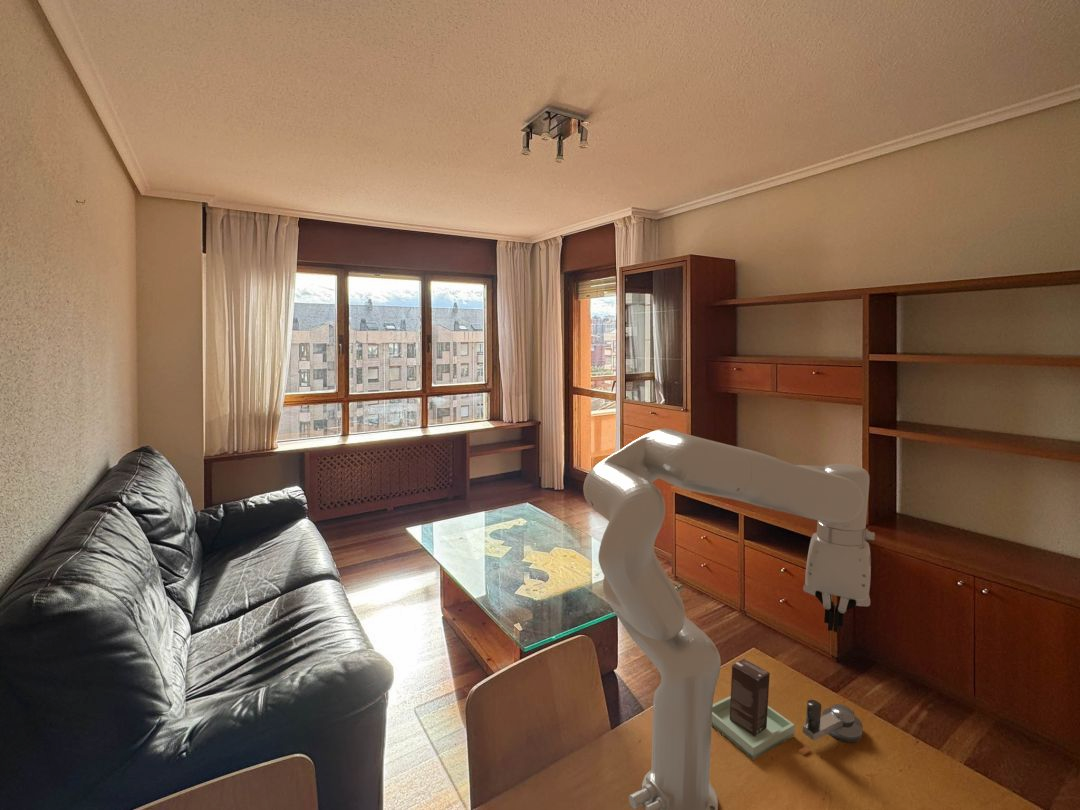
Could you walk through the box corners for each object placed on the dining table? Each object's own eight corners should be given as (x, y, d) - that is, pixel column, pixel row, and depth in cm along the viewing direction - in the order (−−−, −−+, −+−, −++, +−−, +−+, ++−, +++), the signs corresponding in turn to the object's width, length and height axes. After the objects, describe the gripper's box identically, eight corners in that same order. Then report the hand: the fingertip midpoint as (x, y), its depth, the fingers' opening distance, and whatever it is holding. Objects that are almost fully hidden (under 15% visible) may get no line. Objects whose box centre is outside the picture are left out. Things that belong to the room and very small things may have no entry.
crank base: (818, 766, 96) (819, 757, 95) (785, 741, 102) (785, 731, 101) (869, 734, 103) (870, 725, 103) (835, 712, 109) (835, 703, 109)
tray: (752, 760, 97) (753, 747, 97) (704, 719, 108) (704, 708, 107) (793, 736, 103) (794, 724, 103) (744, 699, 113) (744, 688, 113)
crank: (839, 709, 107) (841, 681, 106) (858, 722, 104) (860, 693, 103) (798, 729, 102) (800, 699, 101) (817, 743, 98) (819, 712, 97)
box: (767, 727, 104) (771, 672, 103) (754, 737, 102) (757, 681, 100) (741, 710, 109) (743, 657, 107) (727, 719, 107) (730, 665, 105)
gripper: (890, 535, 93) (881, 631, 95) (797, 519, 101) (792, 607, 103) (890, 549, 87) (881, 651, 89) (791, 531, 95) (785, 625, 97)
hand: (833, 627), depth 96 cm, fingers closed
